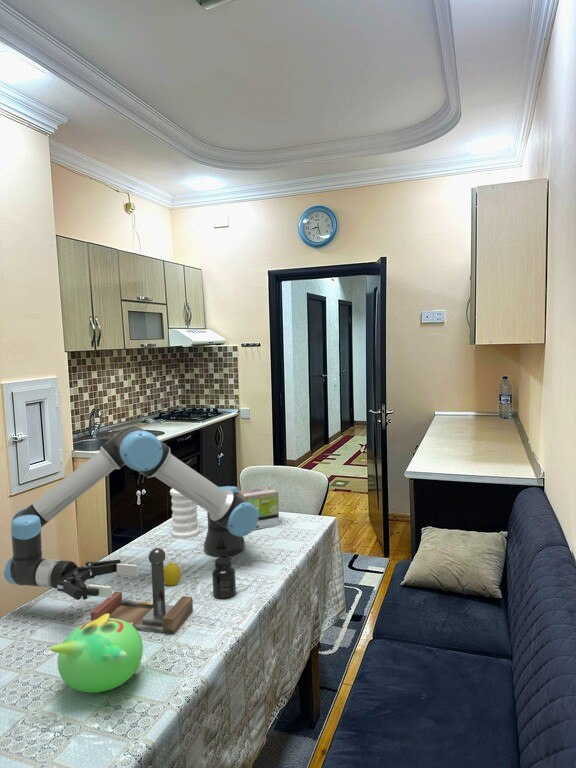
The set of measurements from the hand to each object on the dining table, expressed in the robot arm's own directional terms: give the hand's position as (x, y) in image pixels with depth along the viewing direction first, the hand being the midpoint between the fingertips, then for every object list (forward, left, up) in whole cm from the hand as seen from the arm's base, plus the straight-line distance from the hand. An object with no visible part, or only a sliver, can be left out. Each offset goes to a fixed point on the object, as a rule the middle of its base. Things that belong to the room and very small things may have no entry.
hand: (125, 580), depth 141 cm
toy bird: (+17, +21, -12) cm, 29 cm away
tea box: (-74, -32, -12) cm, 82 cm away
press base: (-3, +4, -12) cm, 13 cm away
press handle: (-5, +8, -10) cm, 14 cm away
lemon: (-19, -9, -12) cm, 24 cm away
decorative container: (-48, -47, -12) cm, 68 cm away
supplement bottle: (-26, +9, -12) cm, 30 cm away
